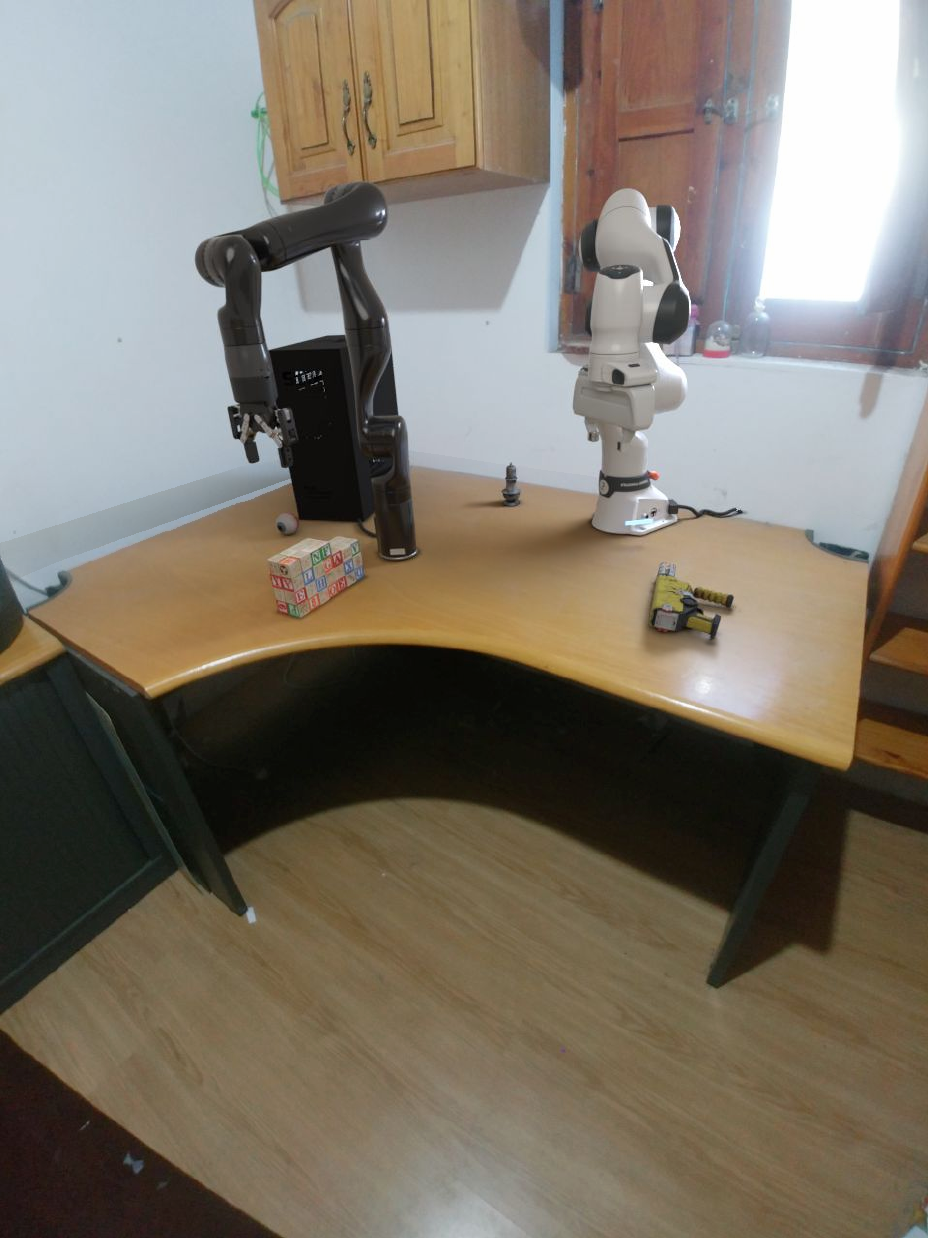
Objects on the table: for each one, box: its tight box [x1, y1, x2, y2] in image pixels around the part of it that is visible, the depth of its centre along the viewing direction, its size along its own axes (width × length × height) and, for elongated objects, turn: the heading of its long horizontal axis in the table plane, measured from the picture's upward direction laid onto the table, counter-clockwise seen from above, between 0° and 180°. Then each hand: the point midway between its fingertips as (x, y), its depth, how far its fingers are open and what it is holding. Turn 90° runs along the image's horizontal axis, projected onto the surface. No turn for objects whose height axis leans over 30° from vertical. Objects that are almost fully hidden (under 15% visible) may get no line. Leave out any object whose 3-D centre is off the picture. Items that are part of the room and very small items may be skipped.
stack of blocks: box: [266, 535, 365, 619], centre depth 130 cm, size 21×6×12 cm, turn 150°
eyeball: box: [275, 511, 300, 536], centre depth 163 cm, size 6×6×6 cm
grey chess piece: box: [501, 462, 522, 507], centre depth 175 cm, size 6×6×12 cm
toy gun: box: [648, 561, 735, 640], centre depth 118 cm, size 5×24×15 cm
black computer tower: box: [268, 334, 399, 522], centre depth 177 cm, size 38×20×45 cm, turn 167°
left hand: (270, 464), depth 113 cm, fingers open, 8 cm apart
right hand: (607, 445), depth 116 cm, fingers open, 8 cm apart
